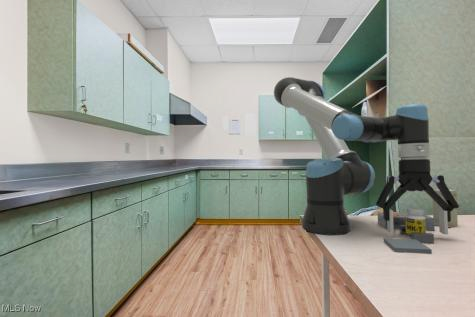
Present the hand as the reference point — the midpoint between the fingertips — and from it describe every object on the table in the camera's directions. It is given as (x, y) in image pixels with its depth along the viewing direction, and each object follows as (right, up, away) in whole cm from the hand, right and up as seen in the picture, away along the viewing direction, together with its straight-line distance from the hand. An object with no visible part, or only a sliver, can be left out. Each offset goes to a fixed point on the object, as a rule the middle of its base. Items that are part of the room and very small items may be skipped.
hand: (416, 232), depth 74 cm
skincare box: (+19, -2, +13) cm, 23 cm away
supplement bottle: (0, -2, 0) cm, 2 cm away
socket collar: (0, -2, 0) cm, 2 cm away
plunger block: (+5, -2, +12) cm, 13 cm away
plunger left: (+1, -1, +13) cm, 13 cm away
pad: (-8, -2, -7) cm, 11 cm away
